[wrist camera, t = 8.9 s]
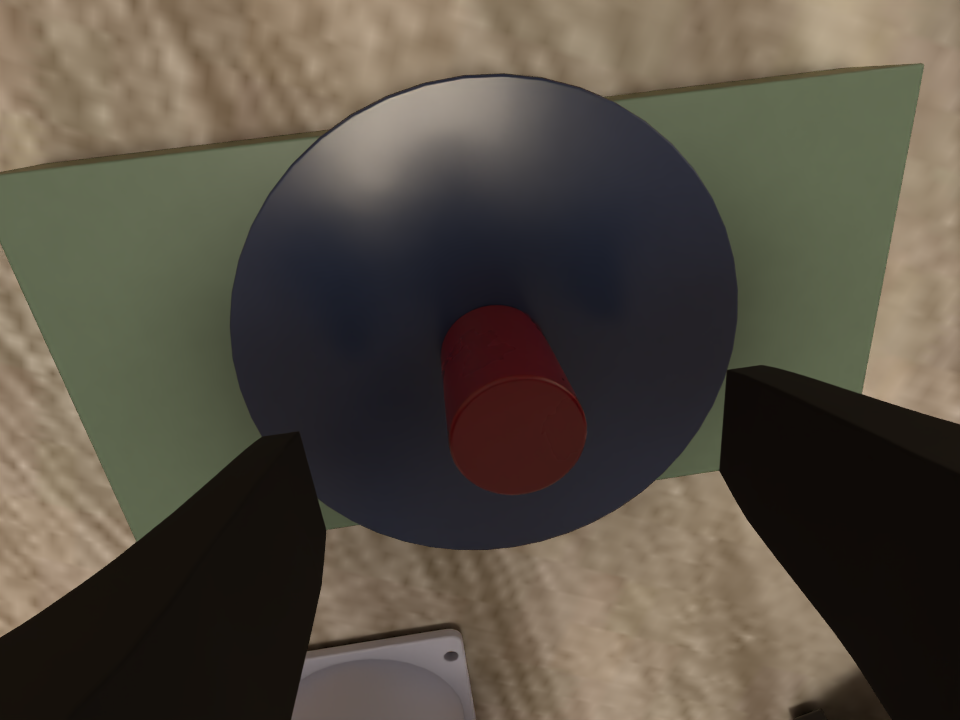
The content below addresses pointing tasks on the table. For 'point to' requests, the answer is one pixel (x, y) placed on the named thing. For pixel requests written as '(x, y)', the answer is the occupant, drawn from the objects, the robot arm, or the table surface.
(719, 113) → the sill
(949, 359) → the table surface
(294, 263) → the lid
